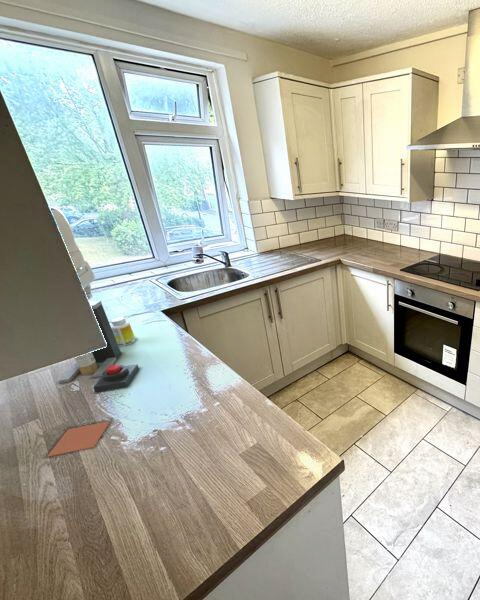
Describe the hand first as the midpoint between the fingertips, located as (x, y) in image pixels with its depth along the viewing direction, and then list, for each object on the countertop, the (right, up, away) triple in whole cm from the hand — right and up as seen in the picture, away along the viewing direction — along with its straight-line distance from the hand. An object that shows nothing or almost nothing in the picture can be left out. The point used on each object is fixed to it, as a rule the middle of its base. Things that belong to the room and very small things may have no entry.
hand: (82, 304), depth 102 cm
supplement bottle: (-5, -15, +22) cm, 28 cm away
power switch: (+11, -24, +1) cm, 27 cm away
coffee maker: (-3, -22, +7) cm, 23 cm away
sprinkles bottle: (-3, -23, +6) cm, 24 cm away
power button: (+11, -21, 0) cm, 24 cm away
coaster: (+20, -34, -20) cm, 44 cm away
